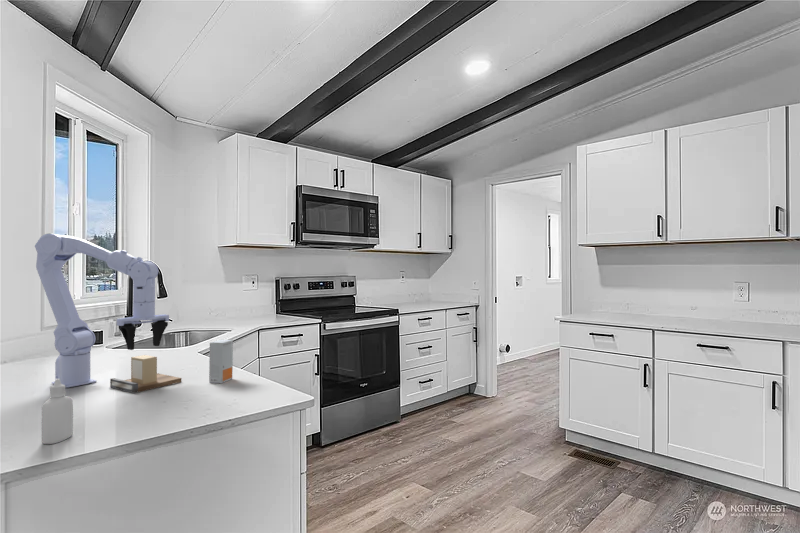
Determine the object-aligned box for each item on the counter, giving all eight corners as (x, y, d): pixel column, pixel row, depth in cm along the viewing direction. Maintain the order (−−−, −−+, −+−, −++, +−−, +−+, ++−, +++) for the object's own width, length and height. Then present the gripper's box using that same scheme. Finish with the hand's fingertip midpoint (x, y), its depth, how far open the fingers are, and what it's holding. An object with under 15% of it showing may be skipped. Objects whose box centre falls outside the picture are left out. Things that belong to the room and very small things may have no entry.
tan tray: (109, 387, 131) (109, 378, 131) (157, 377, 144) (157, 369, 144) (133, 393, 125) (133, 384, 125) (181, 382, 137) (181, 373, 137)
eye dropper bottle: (36, 441, 90) (36, 380, 90) (69, 433, 95) (69, 374, 95) (45, 446, 88) (45, 383, 88) (78, 437, 93) (78, 377, 93)
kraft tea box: (143, 384, 130) (143, 359, 130) (131, 381, 133) (131, 357, 133) (156, 381, 134) (156, 356, 134) (144, 378, 137) (144, 354, 137)
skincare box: (221, 383, 136) (221, 342, 136) (208, 383, 136) (208, 342, 136) (233, 378, 141) (233, 339, 142) (220, 378, 142) (220, 339, 142)
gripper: (126, 303, 129) (126, 352, 129) (175, 300, 141) (174, 345, 141) (112, 302, 132) (112, 350, 132) (161, 299, 145) (161, 343, 145)
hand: (143, 347), depth 137 cm, fingers open, 7 cm apart
